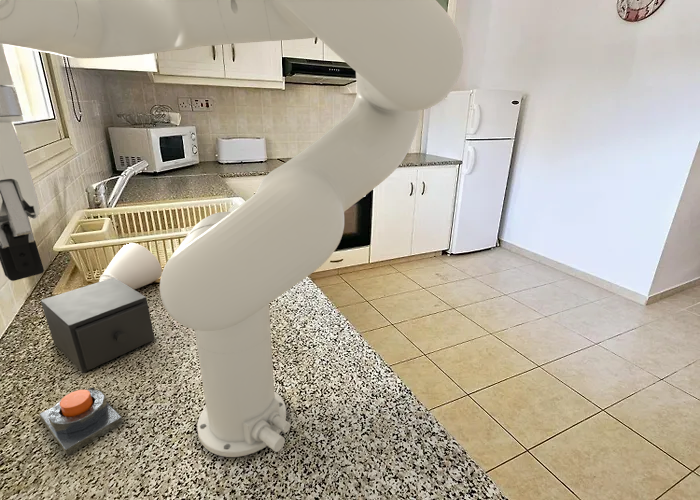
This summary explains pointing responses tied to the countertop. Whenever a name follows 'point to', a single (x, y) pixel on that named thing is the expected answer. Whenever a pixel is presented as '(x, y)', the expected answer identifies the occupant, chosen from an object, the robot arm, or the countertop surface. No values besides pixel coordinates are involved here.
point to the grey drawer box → (86, 312)
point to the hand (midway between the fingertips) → (25, 274)
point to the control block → (81, 423)
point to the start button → (76, 403)
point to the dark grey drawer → (114, 335)
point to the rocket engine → (133, 266)
